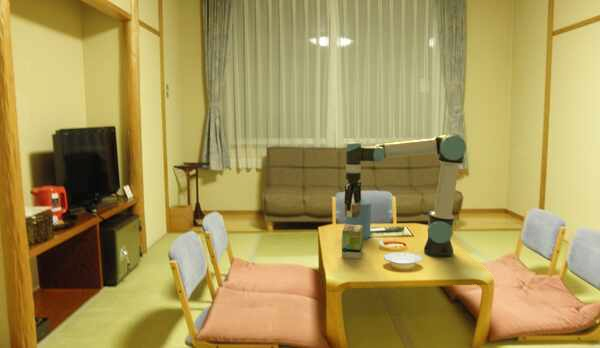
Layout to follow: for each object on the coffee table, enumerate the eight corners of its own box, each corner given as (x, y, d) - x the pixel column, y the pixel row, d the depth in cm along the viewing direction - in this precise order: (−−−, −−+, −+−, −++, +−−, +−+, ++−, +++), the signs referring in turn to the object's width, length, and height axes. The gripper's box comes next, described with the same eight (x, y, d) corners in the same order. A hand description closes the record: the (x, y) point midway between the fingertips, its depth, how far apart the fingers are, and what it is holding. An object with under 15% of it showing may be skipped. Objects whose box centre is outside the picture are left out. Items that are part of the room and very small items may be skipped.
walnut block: (360, 215, 258) (360, 202, 257) (354, 218, 253) (355, 204, 252) (350, 214, 261) (350, 201, 260) (344, 216, 256) (344, 203, 255)
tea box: (360, 259, 252) (361, 231, 250) (341, 258, 254) (341, 230, 252) (362, 250, 266) (363, 224, 264) (344, 249, 268) (344, 223, 266)
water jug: (368, 240, 286) (369, 193, 282) (342, 238, 290) (342, 192, 286) (372, 233, 301) (372, 188, 297) (346, 232, 305) (347, 187, 301)
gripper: (355, 169, 263) (355, 211, 267) (337, 173, 248) (337, 218, 251) (368, 170, 259) (367, 213, 263) (350, 175, 244) (349, 220, 247)
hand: (352, 215), depth 257 cm, fingers closed on walnut block, 6 cm apart
